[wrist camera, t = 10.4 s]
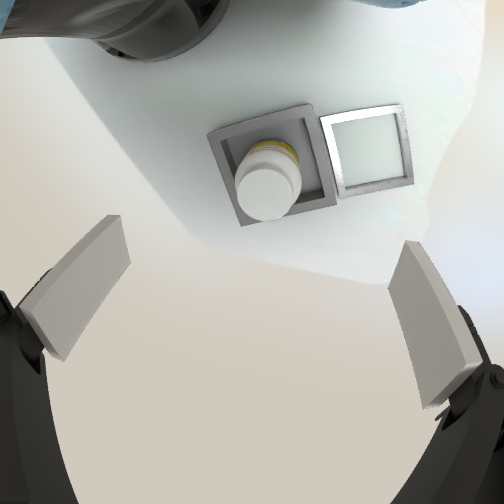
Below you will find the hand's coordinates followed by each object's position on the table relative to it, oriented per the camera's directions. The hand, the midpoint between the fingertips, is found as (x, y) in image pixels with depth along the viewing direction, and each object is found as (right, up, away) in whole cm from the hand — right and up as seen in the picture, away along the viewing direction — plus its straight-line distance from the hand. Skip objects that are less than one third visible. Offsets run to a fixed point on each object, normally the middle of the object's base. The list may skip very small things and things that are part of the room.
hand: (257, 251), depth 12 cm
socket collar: (+12, +11, +13) cm, 21 cm away
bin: (+2, +9, +15) cm, 18 cm away
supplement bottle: (+2, +9, +15) cm, 18 cm away
